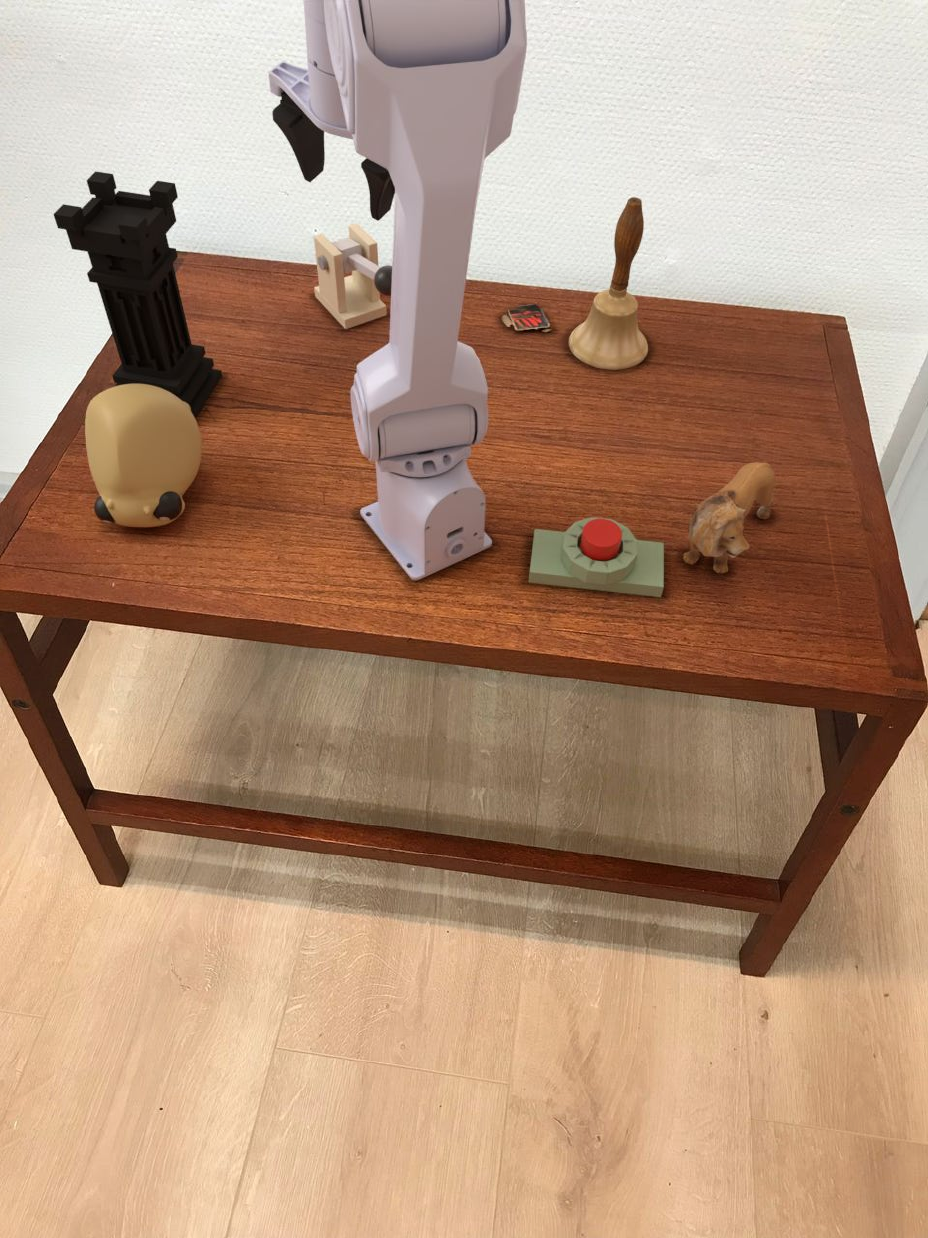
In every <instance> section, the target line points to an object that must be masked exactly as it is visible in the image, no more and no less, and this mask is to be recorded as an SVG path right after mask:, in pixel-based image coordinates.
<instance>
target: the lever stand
mask: <svg viewBox="0 0 928 1238" xmlns="http://www.w3.org/2000/svg"><path fill="white" fill-rule="evenodd" d="M348 238H350V239H352V240H353V241H355V242H357V243H358V244H360V246H361V252H362V257H364V258H366V259H367V260H369V261H371V262H373V263H374V264H376V265H378V266H379V251H378V248H379V247H378V242H377V241H376V240H375V239H374V238H373V237H372V236H371V235H370V234H369V233H368V232H367V231H366V230H365V229H363V228H362V227H361V226H360V224H358V223H356V222H355V223H352V224H349V225H348ZM313 242H314V251H315V262H316V271H317V281H318V285H316V286H314V288H313V290H314V297H315V298H316V299H317V300H318V301H319V302H320V303H321V305H322V306H323V307H324V308H325V309H326V310H327V312H329V313H330V314H331V315H332V317H333V318H335V320H336V321H337V322H338V323H339V324H340V325H341V326H342V327H343V328H344V330H347V329H350V328H353V327H357V326H360V325H362V324H365V323H368V322H371V321H374V320H377V319H380V318H383V317H385V316H387V315H388V312H387V310H388V309H387V305H386V304H385V303H384V301H382V300H381V293H380V292H379V291H378V290H377V289H376V287H375V284H374V280H372V279H371V278H369V277H368V276H366V275H364V274H363V273H361V272H359V271H358V270H355V271H351V275H348V276H345V273H344V268H343V256H342V253H341V252H340V251H339V250H338V249H337V248H336V247H335V246H334V245H333V244H332V241H330V240H329V239H328V238H327V237H326V236H325V235H324V234H323V233H319V234H316V235H314V236H313Z"/></svg>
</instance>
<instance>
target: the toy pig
mask: <svg viewBox="0 0 928 1238" xmlns="http://www.w3.org/2000/svg"><path fill="white" fill-rule="evenodd" d="M114 386H115V385H114ZM114 386H111V387H109V388H107V389H105V390H103V391H101V392H99V393H98V394H97V395H95V396H94V397H93V398H92V399H90V402H89V403H88V405H87V407H86V411H85V420H84V434H85V448H86V449H85V450H86V455H87V463H88V466H89V467H88V468H89V471H90V474H91V477H92V480H93V482H94V484H95V488H96V490H97V493H98V496H97V498H96V499H95V501H94V505H93V509H94V513H95V516H96V517H97V518H98V520H100V521H102V522H104V523H106V524H107V523H108V524H116V525H119V526H122V527H129V528H155V527H161V526H166V525H169V524H170V523H172V522H174V521H176V520H177V519H178V518H179V517H180V516H181V515H182V514H183V513H184V511H185V508H186V504H185V501H184V499H183V496H184V494H185V493H186V491H187V490H188V489H189V488H190V486H191V485H192V483H193V482H194V480H195V479H196V476H197V474H198V472H199V469H200V467H201V466H200V465H201V461H202V455H203V453H202V452H203V441H202V435H201V431H200V428H199V424H198V422H197V419H195V418H194V416H193V414H192V412H191V408H190V406H189V405H188V404H187V403H186V402H183V401H182V400H180V399H179V398H178V397H177V396H175V395H174V394H172V393H170V392H169V391H167V390H164V389H162V388H159V387H156V386H152V385H147V384H124V385H119V386H115V387H114Z"/></svg>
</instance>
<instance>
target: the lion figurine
mask: <svg viewBox="0 0 928 1238" xmlns="http://www.w3.org/2000/svg"><path fill="white" fill-rule="evenodd" d="M775 486H776V473H775V471H774V470H773V469H772V466H771V464H770V463H768V462H759V461H754V462H750V463H747V464H745V465H743V466H742V467H740V468H739V470H738V471H737V472H736V474H735V475H734V477H733V478H732V479H731V480H730V481H729V482H728V483H727V484H726V485H725V486H723V487H722V488H721V489H720V490H719V491H718V492H717V493H714V494H711V495H709V496H707V498H706V499H704V500H702V501H701V502H700V503H699V504H698V505H696V506H695V507H694V509H693V510H694V511H693V512H692V513H691V517H690V519H689V521H688V526H687V538H688V540H689V542H690V543H689V551H686V552H684V553H683V554H682V560H683V561H684V563H686V564H688V565H694V564H696V563H697V561H698V560H699V559H700V554H702V555H703V556H704V557H706V558H707V557H708V558H709V557H713V565H712V567H713V568H712V569H713V571H715V572H716V573H717V574H725V573H728V571H729V567H728V560H729V558H731V559H734V558H736V557H738V556H739V554H741V553H743V552H744V551H748V549H750V544H749V542H748V541H747V540H746V538H745V537H744V535H743V534H744V529H745V527H744V524H745V522H744V520H745V519H746V517H747V516H748V514H749V513H750V511H751V509H752V507H753V505H754V502H756V503H758V504H759V505H760V507H759V508H758V509H757V511H756V516H757V517H758V519H761V520H768V519H769V518H770V516H771V510H772V506H773V504H774V502H775V496H774V492H775V488H776V487H775Z"/></svg>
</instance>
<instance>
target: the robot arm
mask: <svg viewBox="0 0 928 1238" xmlns="http://www.w3.org/2000/svg"><path fill="white" fill-rule="evenodd" d="M303 12H304V13H303V14H304V28H305V42H306V43H305V45H306V59H307V60H306V61H307V68H305V67H301V66H297V65H295V64H291V63H289V62H287V61H285V60H281V61H280V62H279V63H278V64H276V65H275V66H274V67H273V68H271V69H270V70H269V71H268V80H269V81H268V82H269V91H270V93H271V94H273V95H275V96H277V97H278V98H279V97H280V100H279V102H280V103H279V104H278V105H277V106H276V107H274V108H273V109H272V112H271V113H272V121H273V122H274V123H275V125H276V126H277V127H278V128H279V129H280V131H281V132H282V133H283V135H284V136H285V138H286V140H287V142H288V144H289V146H290V147H291V149H292V152H293V154H294V156H295V159H296V161H297V163H298V165H299V168H300V172H301V174H302V177H303V179H304V180H305V181H306V182H308V183H312V182H313V181H314V180H315V179H316V178H317V177H318V176H320V174H322V173H323V172H324V170H325V162H326V161H325V160H326V159H325V158H326V157H325V153H326V152H325V133H326V134H330V135H333V136H336V137H340V138H344V139H349V140H352V141H353V145H354V150H355V151H354V152H355V153H357V154H358V155H360V156H361V157H364V158H365V159H364V160H362V162H361V163H360V168H361V169H362V171H363V173H364V175H365V178H366V182H367V186H368V191H369V210H370V211H369V212H370V215H371V218H372V219H373V220H375V221H380V220H382V218H383V217H384V216H385V215H386V214H388V212H390V211H391V209H392V206H393V202H394V206H393V207H394V208H393V209H394V210H393V216H394V217H393V235H392V262H391V263H392V264H391V266H392V286H391V296H390V312H389V313H390V316H389V339H388V341H389V342H388V343H386V344H385V345H384V346H383V347H381V348H380V349H378V350H376V351H375V352H373V353H372V354H370V355H368V356H367V357H365V358H364V359H363V360H361V361H360V362H358V363H357V365H356V373H355V374H354V375H353V384H352V386H351V388H350V392H349V393H350V407H351V415H352V421H353V426H354V431H355V436H356V441H357V444H358V447H359V450H360V453H361V455H362V456H363V457H364V458H366V459H367V460H368V461H369V462H371V463H373V462H375V476H376V490H377V501H376V502H373V503H370V504H369V505H365V506H364V507H361V509H360V510H359V512H360V513H359V514H360V516H361V518H362V519H363V520H364V521H365V523H366V524H367V525H368V526H369V528H370V529H371V530H372V532H373V533H374V534H375V535H376V537H377V538H378V539H379V540H380V542H382V544H383V546H385V548H386V549H387V550H388V551H389V553H390V554H391V555H392V557H393V558H394V559H395V561H396V562H397V563H398V564H399V566H400V567H401V568H402V569H403V571H404V572H405V573H406V574H407V576H408V577H409V578H410V579H411V580H412V581H420V580H423V579H424V578H426V577H428V576H430V575H433V574H435V573H437V572H439V571H441V570H444V569H446V568H448V567H450V566H452V565H454V564H457V563H459V562H461V561H463V560H465V559H467V558H469V557H470V558H471V556H473V555H476V554H479V553H480V552H482V551H485V550H486V549H490V548H491V547H492V545H493V540H492V538H491V537H490V536H489V535H488V533H486V531H485V527H486V526H485V524H486V510H487V507H486V506H487V499H486V495H485V493H484V491H483V489H482V487H480V486H479V484H478V482H476V480H475V479H474V477H473V475H472V472H471V471H470V469H469V466H468V462H467V459H470V458H471V457H472V445H480V444H482V442H483V440H484V438H485V436H486V435H487V433H488V429H489V407H488V399H489V398H488V397H489V388H488V387H489V386H488V383H487V380H486V374H485V372H484V368H483V365H482V362H481V360H480V358H479V357H478V355H477V353H476V352H475V349H474V348H473V347H472V346H470V345H468V344H465V342H461V341H459V336H460V335H459V333H460V328H461V321H462V320H461V319H462V311H463V304H464V299H465V297H464V296H465V291H466V283H467V276H468V270H469V269H468V268H469V261H470V256H471V255H470V254H471V247H472V239H473V232H474V225H475V218H476V211H477V205H478V200H479V194H480V187H481V182H482V177H483V176H482V175H483V171H484V166H485V165H484V164H485V160H486V159H487V157H488V156H489V155H491V154H492V153H493V152H494V151H495V150H497V148H499V147H500V146H501V145H502V144H503V143H504V142H505V141H506V140H507V139H509V138H510V136H511V135H512V131H513V123H514V117H515V115H516V112H517V111H518V104H519V99H520V92H521V85H522V81H523V80H522V79H523V74H524V68H525V62H526V56H527V55H526V54H527V48H528V35H527V32H528V31H527V25H526V24H527V23H526V1H525V0H303Z"/></svg>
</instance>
